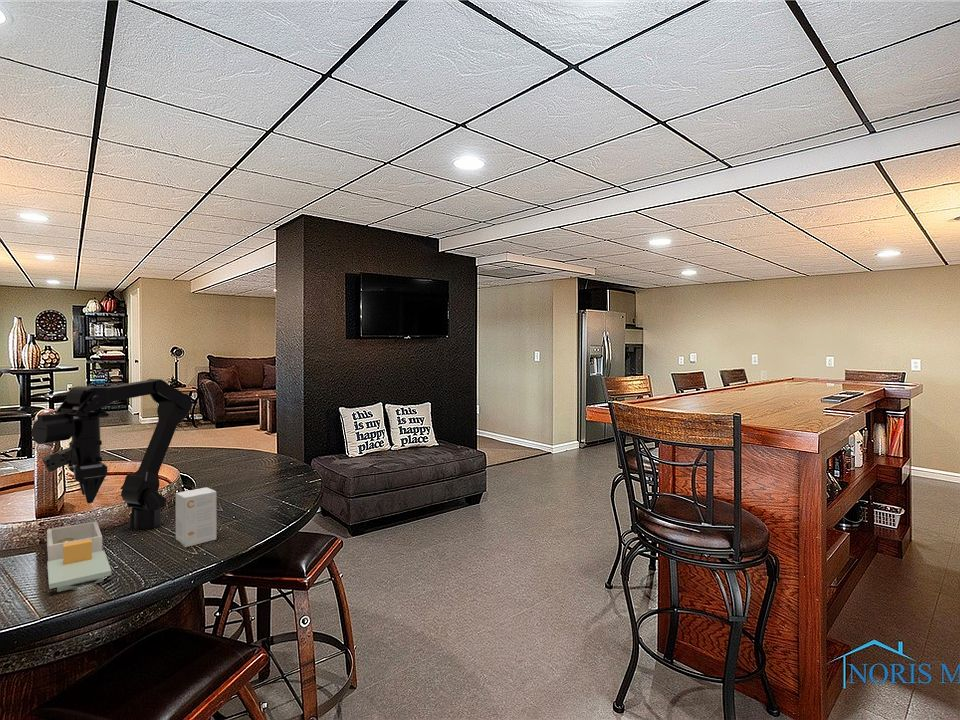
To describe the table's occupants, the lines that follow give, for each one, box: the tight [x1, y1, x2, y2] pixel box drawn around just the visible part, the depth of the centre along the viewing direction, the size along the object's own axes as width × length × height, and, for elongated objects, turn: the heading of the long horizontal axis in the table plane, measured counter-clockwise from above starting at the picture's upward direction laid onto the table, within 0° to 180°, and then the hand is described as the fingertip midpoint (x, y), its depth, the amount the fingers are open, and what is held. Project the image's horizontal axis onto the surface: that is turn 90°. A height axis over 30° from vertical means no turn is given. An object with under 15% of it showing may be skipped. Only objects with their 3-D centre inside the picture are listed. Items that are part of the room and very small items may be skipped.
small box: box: [174, 487, 217, 548], centre depth 137 cm, size 8×6×13 cm
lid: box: [46, 539, 112, 593], centre depth 115 cm, size 14×10×6 cm
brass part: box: [58, 538, 74, 543], centre depth 129 cm, size 3×3×2 cm
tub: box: [46, 520, 103, 562], centre depth 128 cm, size 14×10×5 cm
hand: (87, 498), depth 130 cm, fingers open, 9 cm apart
